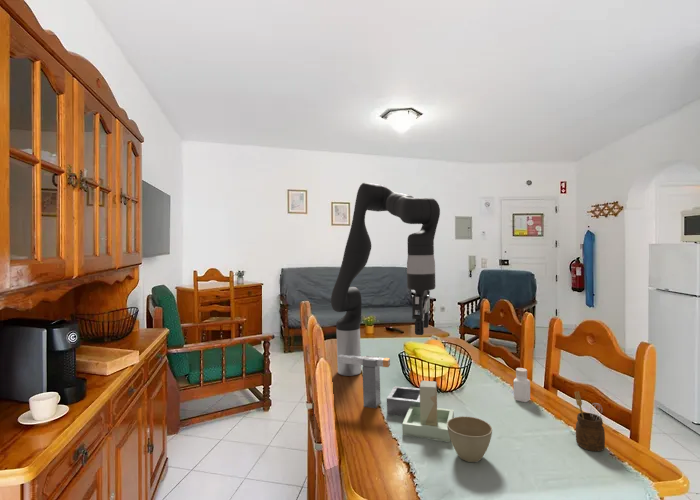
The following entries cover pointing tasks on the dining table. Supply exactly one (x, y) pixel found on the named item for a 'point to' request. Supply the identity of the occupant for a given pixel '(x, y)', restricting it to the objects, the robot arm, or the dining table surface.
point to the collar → (402, 400)
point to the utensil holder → (589, 429)
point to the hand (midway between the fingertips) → (422, 330)
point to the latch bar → (359, 360)
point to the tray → (416, 429)
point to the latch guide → (371, 383)
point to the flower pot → (469, 437)
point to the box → (428, 403)
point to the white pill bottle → (521, 385)
